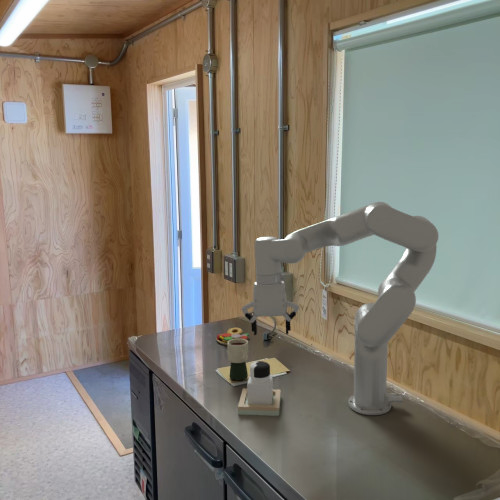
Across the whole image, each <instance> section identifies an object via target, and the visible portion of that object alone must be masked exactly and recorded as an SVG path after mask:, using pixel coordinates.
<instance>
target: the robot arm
mask: <svg viewBox="0 0 500 500" xmlns="http://www.w3.org/2000/svg"><path fill="white" fill-rule="evenodd" d="M371 236H377V237H378V238H381V239H383V240H386V241H387V242H390V243H393V244H396V245H398V246H401V247H403V248H405V249H404V252H403V254H402V256H401V257H400V259H399V260H398V262H397V263H396V265H395V266H394V267H393V268H392V269H391V271H390V272H389V273H388V275H387V276H386V277H385V278H384V279H383V280H382V282H381V283H380V284H379V286H378V289H377V295H378V298H377V299H376V300H375V302H369V303H365V304H362V305H360V307H359V308H358V309H357V311H356V312H355V315H354V322H353V323H354V361H353V362H354V363H353V364H354V365H353V366H354V370H353V394H352V395H351V396H350V397H349V398H348V402H347V403H348V407H349V408H350V409H351V410H352V411H354V412H356V413H359V414H361V415H367V416H381V415H384V414H387V413H388V412H390V410H391V408H392V403H395V404H403V396H401V395H398V394H397V393H396V392H394V393H391V392H390V393H389V392H388V391H387V380H388V379H387V372H388V351H389V350H388V348H389V346H388V342H389V341H390V340H391V339H393V337H394V336H395V335H396V333H397V332H398V331H399V329H400V328H401V327H402V326H403V325H404V323H405V322H406V321H407V320H408V318H409V317H410V316H411V314H412V313H413V312H414V310H415V309H414V308H415V307H416V303H417V298H416V297H417V296H416V294H415V292H416V290H417V289H418V288H419V287H420V285H421V284H422V282H423V281H424V280H425V278H426V277H427V275H428V274H429V273H430V271H431V270H432V268H433V266H434V263H435V260H436V257H437V243H438V241H439V231H438V229H437V226H435V225H434V223H432V222H431V221H430V220H429V219H427V218H426V217H424V216H421V215H410V214H408V213H405V212H403V211H400V210H398V209H395V208H393V207H392V206H391V205H389V204H388V203H386V202H384V201H376V202H371V203H369V204H367V205H364V206H362V207H359V208H357V209H354V210H350V211H348V212H346V213H344V214H341V215H338V216H335V217H332V218H328V219H326V220H323V221H321V222H318V223H314V224H312V225H309V226H306V227H304V228H301V229H297V230H296V231H293V232H291V233H289V234H287V235H286V236H285V237H284V239H283V238H282V239H279V238H278V237H276V236H260V237H258V238H256V239H255V241H254V259H255V260H254V261H255V279H256V280H255V282H254V283H253V289H252V290H253V292H252V301H250V302H249V303H247V304H245V305H244V306H242V307H241V309H240V310H241V311H242V313H243V315H244V317H245V318H246V319H247V320H248V321H250V323H251V332H253V336H256V335H257V334H258V333H257V332H258V326H257V325H258V324H257V318H258V317H283V318H284V319H285V334H286V335H289V332H290V331H292V330H291V321H292V320H293V319H294V318H295V317H296V315H297V313H298V311H299V309H300V305H298V304H296V303H294V302H292V301H290V300H288V299H287V290H286V284H285V282H284V280H285V279H287V274H286V273H282V264H283V263H284V264H298V263H300V262H301V261H302V260H303V259H304V258H305V255H306V254H307V253H310V252H313V251H316V250H319V249H322V248H326V247H331V246H332V247H343V246H347V245H349V244H352V243H355V242H358V241H359V240H362V239H365V238H368V237H371ZM288 307H290V308H292V311H291V312H290V313H289V312H288ZM251 308H252V311H253V314H252V313H250V312H249V311H248V310H249V309H251ZM397 395H398V396H397Z"/></svg>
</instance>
